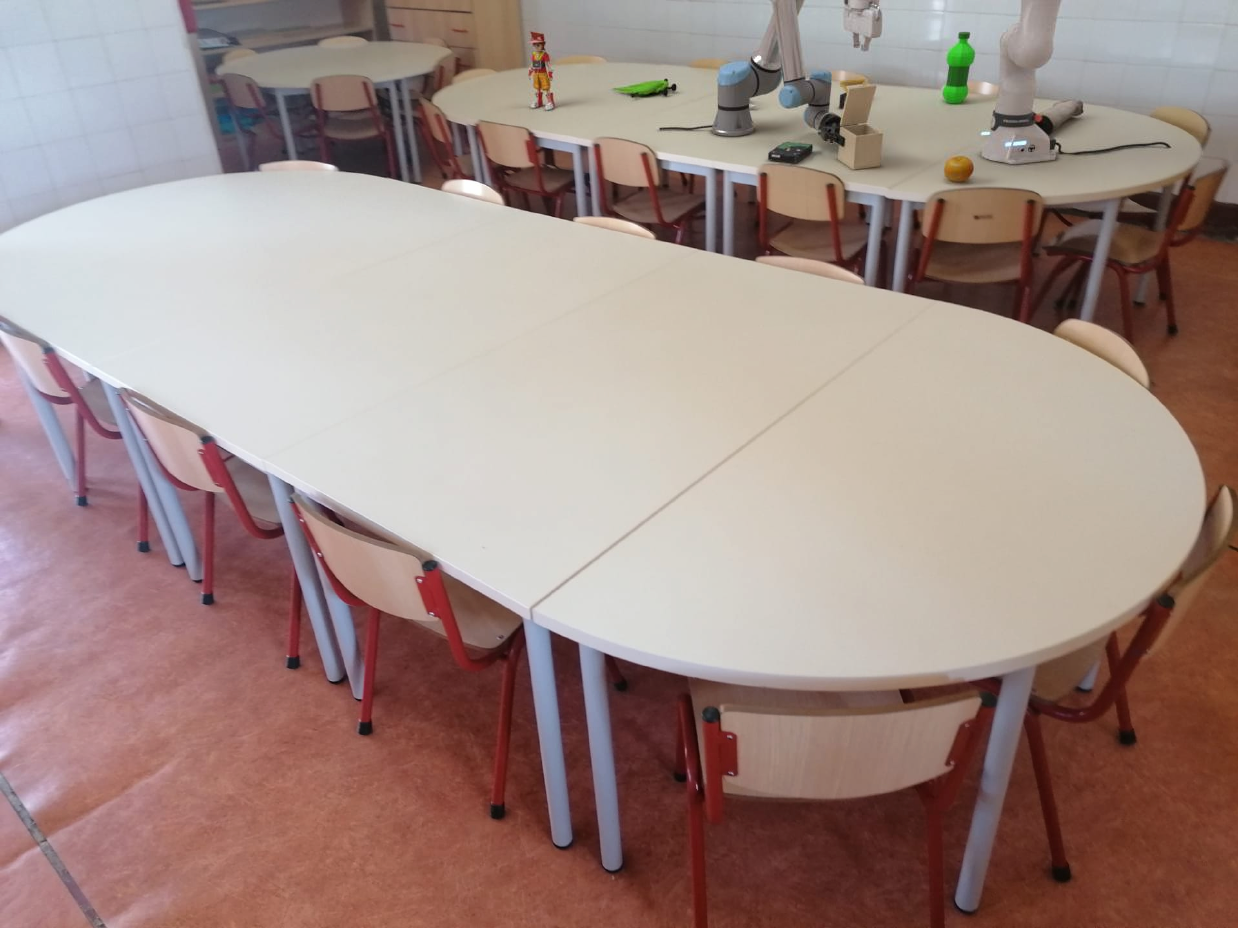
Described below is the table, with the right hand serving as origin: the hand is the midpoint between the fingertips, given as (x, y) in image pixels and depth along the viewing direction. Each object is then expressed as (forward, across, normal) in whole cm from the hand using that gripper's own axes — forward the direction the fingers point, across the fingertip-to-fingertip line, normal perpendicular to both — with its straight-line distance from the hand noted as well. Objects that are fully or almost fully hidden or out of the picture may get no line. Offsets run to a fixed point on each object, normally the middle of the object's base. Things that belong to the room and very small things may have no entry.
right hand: (860, 49), depth 283 cm
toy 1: (+33, +116, +88) cm, 149 cm away
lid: (+17, -3, 0) cm, 17 cm away
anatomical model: (+33, +82, +11) cm, 89 cm away
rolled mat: (+34, +8, -81) cm, 88 cm away
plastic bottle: (+34, +52, -68) cm, 92 cm away
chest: (+34, -6, 0) cm, 34 cm away
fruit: (+34, -35, -19) cm, 52 cm away
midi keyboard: (+34, +67, -31) cm, 81 cm away
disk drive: (+34, +9, +18) cm, 39 cm away
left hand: (+27, -4, 0) cm, 27 cm away
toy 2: (+33, +125, +42) cm, 136 cm away
